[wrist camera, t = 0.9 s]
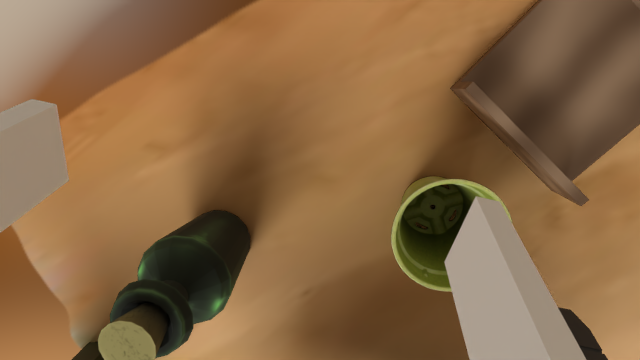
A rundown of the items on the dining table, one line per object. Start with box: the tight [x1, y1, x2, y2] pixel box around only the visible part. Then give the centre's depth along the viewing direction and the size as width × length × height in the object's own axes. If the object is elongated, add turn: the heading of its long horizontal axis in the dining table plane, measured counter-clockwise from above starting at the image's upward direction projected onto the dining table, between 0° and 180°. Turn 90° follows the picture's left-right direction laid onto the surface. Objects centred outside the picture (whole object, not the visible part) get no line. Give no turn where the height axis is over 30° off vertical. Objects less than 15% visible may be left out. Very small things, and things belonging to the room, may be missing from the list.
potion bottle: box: [98, 210, 250, 360], centre depth 33 cm, size 8×8×18 cm
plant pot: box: [391, 176, 512, 292], centre depth 35 cm, size 9×9×9 cm
